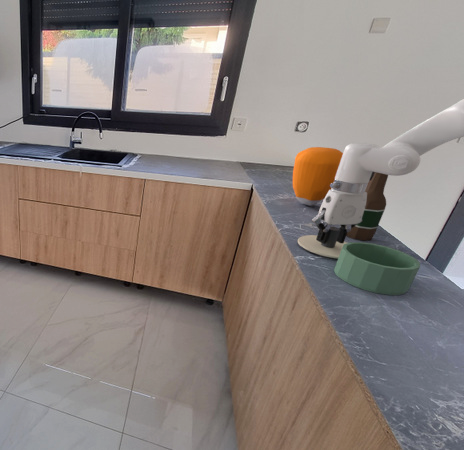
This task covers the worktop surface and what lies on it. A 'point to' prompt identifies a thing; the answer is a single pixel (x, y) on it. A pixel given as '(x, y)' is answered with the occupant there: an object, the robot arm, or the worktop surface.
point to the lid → (327, 249)
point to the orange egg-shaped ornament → (315, 173)
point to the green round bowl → (376, 268)
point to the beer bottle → (371, 209)
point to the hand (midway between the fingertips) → (329, 241)
